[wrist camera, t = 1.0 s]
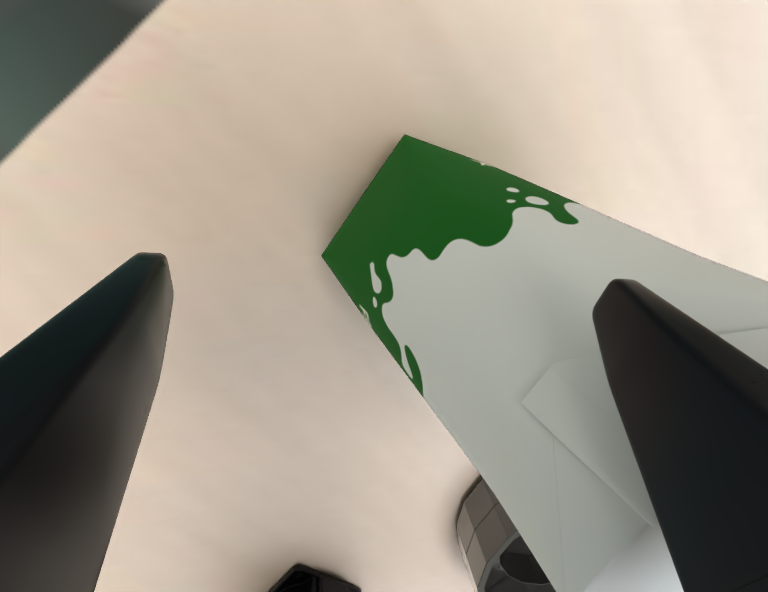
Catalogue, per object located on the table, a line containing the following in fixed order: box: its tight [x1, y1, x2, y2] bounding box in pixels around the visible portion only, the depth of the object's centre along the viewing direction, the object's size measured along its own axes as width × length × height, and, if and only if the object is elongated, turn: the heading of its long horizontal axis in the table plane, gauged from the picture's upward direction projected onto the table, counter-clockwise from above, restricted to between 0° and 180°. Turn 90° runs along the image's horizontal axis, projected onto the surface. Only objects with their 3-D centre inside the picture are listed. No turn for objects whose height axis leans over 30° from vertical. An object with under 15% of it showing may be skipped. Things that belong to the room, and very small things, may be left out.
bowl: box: [457, 479, 556, 592], centre depth 35 cm, size 14×14×6 cm
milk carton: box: [321, 134, 768, 592], centre depth 18 cm, size 9×9×20 cm
